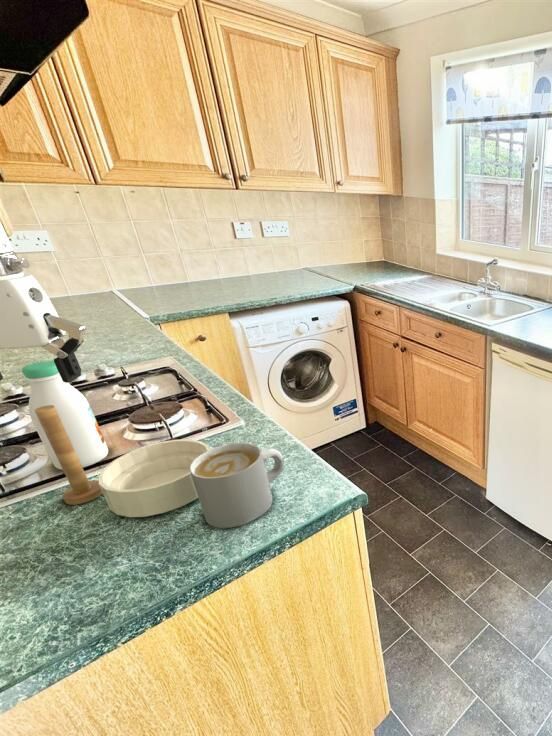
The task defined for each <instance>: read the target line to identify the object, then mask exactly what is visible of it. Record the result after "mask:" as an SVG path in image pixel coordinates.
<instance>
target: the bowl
mask: <svg viewBox="0 0 552 736" xmlns="http://www.w3.org/2000/svg"><path fill="white" fill-rule="evenodd" d="M208 450H211V448H210V446H209V445H208V444H207V443H205V442H203V441H201V440H197V439H189V438H188V439H183V438H182V439H171V440H164V441H159V442H155V443H151V444H147V445H144V446H141V447H139V448H136V449H134V450H130V451H128V452H126V453H124V454H122V455H121V456H119V457H117V458H116V459H113V460H112V461H111V462H110V463H109V464H107V465H106V466H105V467H103V469H102V470H101V471H100V473H99V474H98V476H97V481H98V483H99V486H100V488H101V491H102V495H103V497H104V500H105V501H106V504H107V507H108V508H109V510H110V511H112V512H113V513H114V514H115V515H116V516H121V517H127V518H145V517H150V516H155V515H160V514H164V513H168V512H170V511H174V510H176V509H179V508H181V507H184V506H186V505H187V504H189V503H192V502H193V501H196V500H197V499H199V498H198V495H197V492H196V489H195V486H194V482H193V479H192V476H191V473H190V465H191V463H192V462H193V461H194V460H195V459H196V458H197V457H198V456H199V455H201V454H203V453H204V452H206V451H208Z"/></svg>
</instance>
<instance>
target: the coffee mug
mask: <svg viewBox="0 0 552 736" xmlns="http://www.w3.org/2000/svg"><path fill="white" fill-rule="evenodd" d="M269 458H272V459H273V461H274V462H273V463H274V465H273V468H272V469H271V470H269V471H267V469H266V462H267V460H269ZM284 467H285V460H284V456H283V454H282V453H281V452H280V451H279V450H278V449H275V448H268V449H265V450H262V449H261V448H260V447H259V446H258V445H256V444H253V443H250V442H233V443H227V444H223V445H218V446H216V447H212V448H210V450H208V451H206V452H204V453H203V454H201V455H199V456H198V457H197V458H196V459H195V460H194V461H193V462H192V463H191V465H190V473H191V476H192V479H193V482H194V486H195V489H196V492H197V495H198V498H197V499H198V501H199V504H200V507H201V509H202V514H203V516H204V519H205V522H206V523H207V524H208V525H210V527H211V526H212V527H214V528H218V529H219V528H220V529H229V528H235V527H239V526H243V525H246V524H249V523H251V522H253V521H255V520H257V519H258V518H260V517H261V516H263V515H264V514H265V513H266V512H267V511H268V510H269V509H270V508H271V506H272V504H273V499H274V498H273V494H272V490H271V486H270V484H271V483H272V482H273V481H275V480H276V479H277V478H278V477H279V476H280V475H281V474H282V472H283V471H284Z"/></svg>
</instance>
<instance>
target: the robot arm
mask: <svg viewBox="0 0 552 736" xmlns="http://www.w3.org/2000/svg"><path fill="white" fill-rule="evenodd" d="M29 268H30V261H29V260H28V259H27V258H25V257H24V258H23V257H22V258H21V257H18V255H17V253H16V252H15V251H14V248H13V246H12V244H11V242H10V240H9V237H8V235H7V233H6V231H5V228H4V226H3V224H2V222H1V220H0V350H6V349H9V350H11V349H31V348H42V349H43V350H45V351H47V352H48V353H50V354H52V355H54V356H55V357H56V358H54V359H53V361H54V363H55V365H56V367H57V370H58V372H59V374H60V376H61V378H62V381H63V382H65V383H69V384H70V383H73V381H75V380H77V379H78V378H80V377H81V376H82V368H81V366H80V363H79V361H78V358H77V356H76V354H75V353H76V352H77V351H78V349H79V348H80V347H81V346H82V345H83V343H84V338H85V335H86V330H87V327H86V326H85V325H84V324H81V323H78V322H74V321H72V320H68V319H64V318H62V317H60V316H59V315H58V312H57V310H56V308H55V306H54V305H53V303H52V301H51V299H50V297H49V296H48V294H47V293H46V291H45V290H44V289H43V287H42V286H41V284H40V283H39V282H38V281H37V279H36V278H35V277H34V275H32V274H31V273H24V269H29ZM67 333H68V339H66V338H64V337H65V336H66V334H67ZM3 380H4V377H3V375H2V373H1V371H0V381H3Z"/></svg>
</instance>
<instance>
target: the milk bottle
mask: <svg viewBox="0 0 552 736" xmlns="http://www.w3.org/2000/svg"><path fill="white" fill-rule="evenodd" d="M21 371H22V374H23V376H24V377H25V380H26V381H28V382H29V384H30V395H29V400H28V405H27V406H28V407H27V408H28V413H29V417H30V419H31V421H32V424H33V426H34V428H35V430H36V432H37V434H38V436H39V439H40V441H41V442H42V445H43V447H44V448H45V451H46V453H47V455H48V456H49V458H50V461H51V463H52V464H53V466H54V467H55V468H56V469H58V470H61V471H63V469H62V467H61V465H60V463H59V461H58V459H57V457H56V455H55V452H54V450H53V448H52V446H51V444H50V442H49V440H48V438H47V436H46V434H45V432H44V430H43V428H42V426H41V424H40V421H39V419H38V417H37V415H36V413H35V409H37V408H39V407H42V406H48V405H53V406H55V409H56V411H57V413H58V415H59V417H60V419H61V422H62V424H63V426H64V428H65V430H66V433H67V435H68V437H69V439H70V441H71V443H72V446H73V448H74V450H75V452H76V454H77V457H78V459H79V461H80V463H81V465H82V467H83V468H87V467H89V466H92V465H94V464H96V463H99V462H100V461H102V460H103V459H105V458H106V457H107V456H108V454H109V448H108V445H107V443H106V441H105V438H104V435H103V433H102V431H101V428H100V427H99V424H98V421H97V418H96V416H95V415H94V412H93V410H92V408H91V406H90V403H89V401H88V400H87V398H86V397H85V396H84V394H83V393H81V391H79V390H78V389H77V388H75V387H74V386H73V385H71V384H70V383H65V382H63V381H62V378H61V376H60V374H59V372H58V370H57V367H56V365H55V363H54V360H46V361H45V360H44V361H38V362H34V363H30V364H27V365H25V366H23V367H22V368H21Z"/></svg>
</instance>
